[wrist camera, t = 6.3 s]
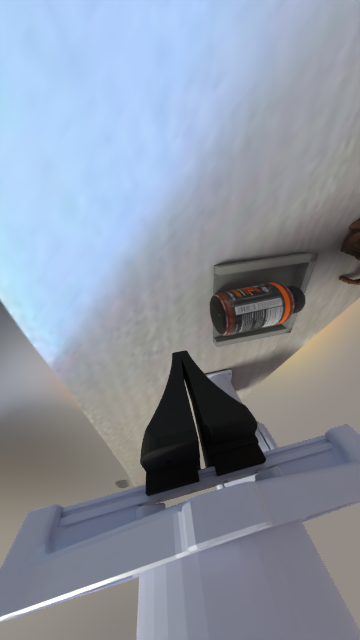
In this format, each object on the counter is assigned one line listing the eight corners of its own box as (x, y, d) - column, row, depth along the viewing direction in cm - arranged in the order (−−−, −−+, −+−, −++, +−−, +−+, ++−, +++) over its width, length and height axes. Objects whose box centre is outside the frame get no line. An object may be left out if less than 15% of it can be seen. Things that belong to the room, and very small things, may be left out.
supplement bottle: (206, 289, 20) (277, 276, 21) (209, 325, 22) (272, 311, 23) (226, 300, 14) (320, 280, 15) (226, 346, 17) (307, 326, 18)
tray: (282, 327, 26) (290, 332, 24) (213, 340, 25) (216, 347, 23) (305, 252, 20) (318, 252, 18) (214, 265, 18) (219, 267, 17)
